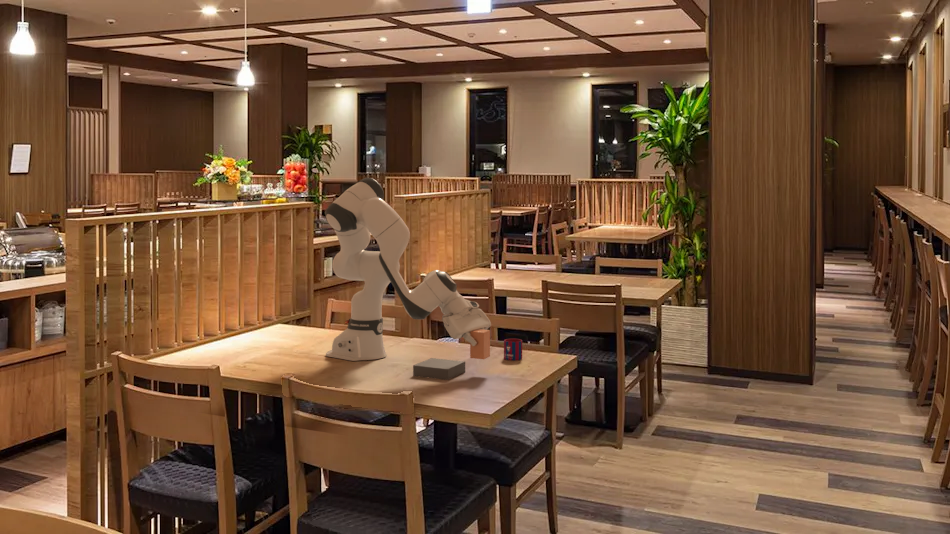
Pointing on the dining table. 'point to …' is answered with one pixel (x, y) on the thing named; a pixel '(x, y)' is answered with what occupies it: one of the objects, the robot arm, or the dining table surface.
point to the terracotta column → (480, 344)
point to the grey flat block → (439, 368)
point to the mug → (513, 349)
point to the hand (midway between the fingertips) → (481, 343)
